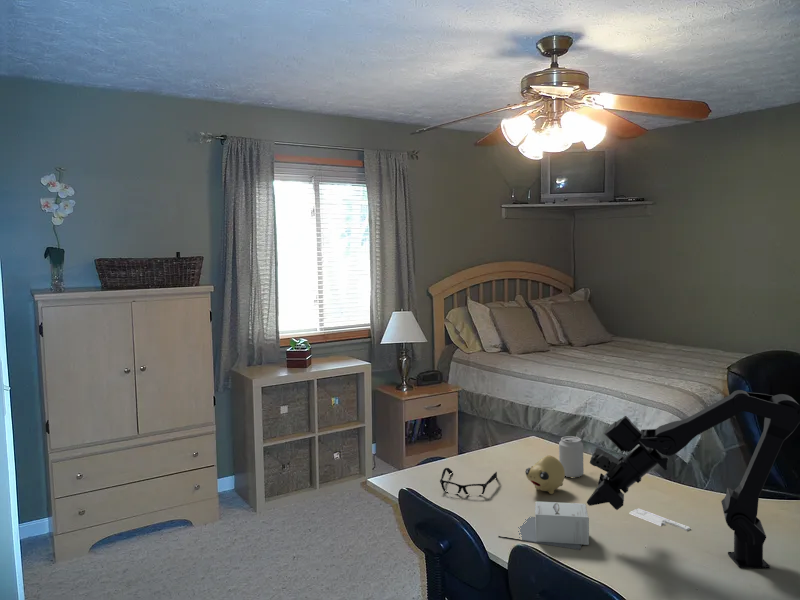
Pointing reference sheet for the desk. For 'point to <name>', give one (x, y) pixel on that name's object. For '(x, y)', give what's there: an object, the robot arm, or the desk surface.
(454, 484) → the glasses
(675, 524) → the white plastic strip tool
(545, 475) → the beige rounded figure
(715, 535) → the desk surface
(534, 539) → the mat
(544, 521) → the supplement box
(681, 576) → the desk surface
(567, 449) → the can
